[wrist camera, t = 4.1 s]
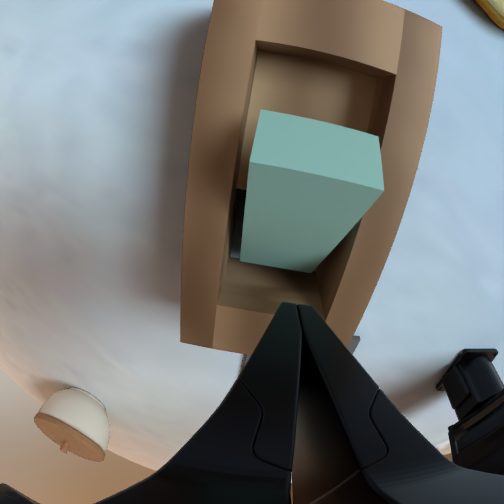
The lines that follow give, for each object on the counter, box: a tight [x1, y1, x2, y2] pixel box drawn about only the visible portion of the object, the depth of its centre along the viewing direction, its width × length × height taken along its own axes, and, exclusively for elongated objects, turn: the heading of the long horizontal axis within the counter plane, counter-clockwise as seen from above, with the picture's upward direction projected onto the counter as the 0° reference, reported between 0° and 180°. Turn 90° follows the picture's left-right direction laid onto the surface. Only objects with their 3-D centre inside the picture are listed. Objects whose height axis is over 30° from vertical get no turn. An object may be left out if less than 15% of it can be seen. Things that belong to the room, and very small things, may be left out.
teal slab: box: [240, 109, 384, 273], centre depth 14 cm, size 4×10×2 cm
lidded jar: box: [34, 387, 110, 462], centre depth 29 cm, size 11×11×9 cm
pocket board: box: [180, 0, 442, 355], centre depth 15 cm, size 10×20×5 cm, turn 171°
